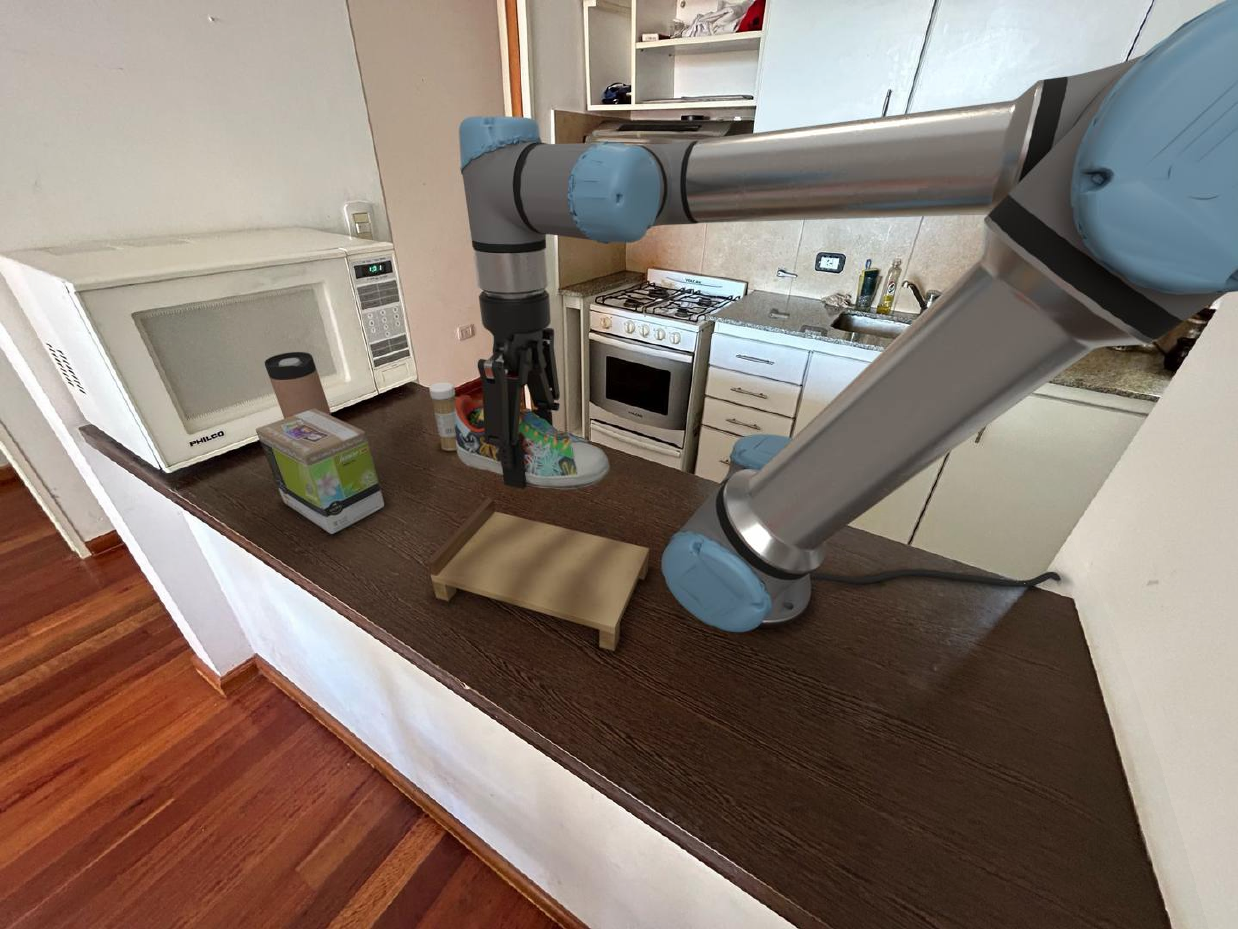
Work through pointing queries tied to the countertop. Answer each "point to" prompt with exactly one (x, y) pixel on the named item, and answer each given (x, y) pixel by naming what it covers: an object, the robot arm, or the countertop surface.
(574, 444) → the sneaker
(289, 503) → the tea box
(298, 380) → the travel mug
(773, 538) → the robot arm
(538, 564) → the platform
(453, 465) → the countertop surface
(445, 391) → the sprinkles bottle
